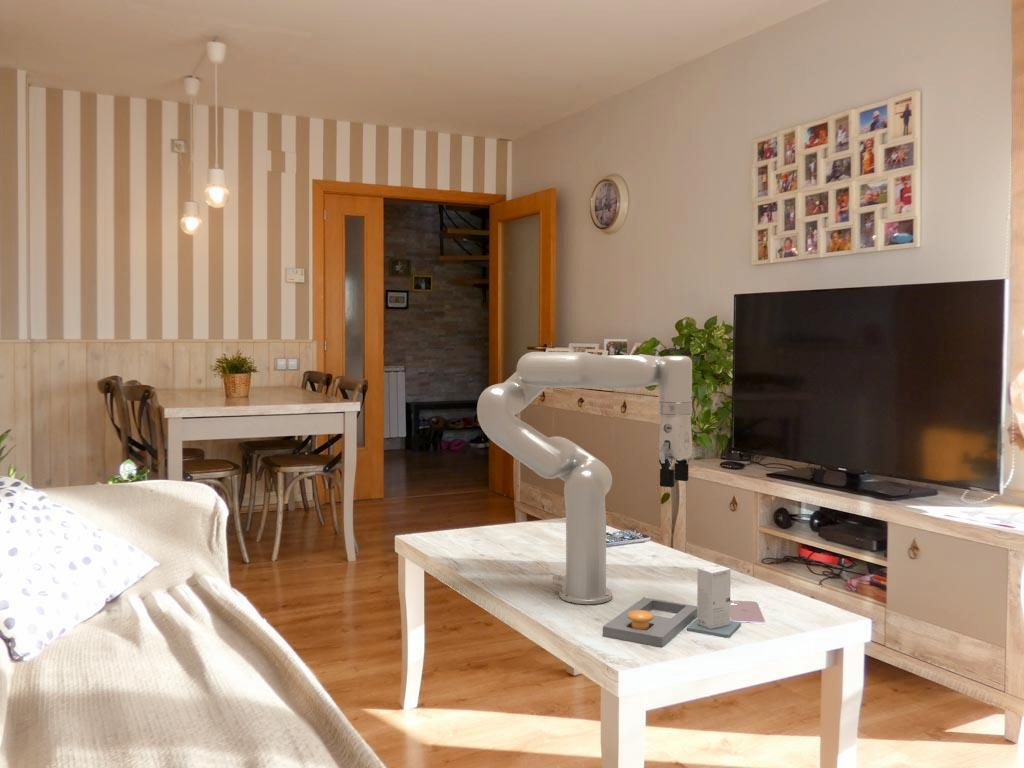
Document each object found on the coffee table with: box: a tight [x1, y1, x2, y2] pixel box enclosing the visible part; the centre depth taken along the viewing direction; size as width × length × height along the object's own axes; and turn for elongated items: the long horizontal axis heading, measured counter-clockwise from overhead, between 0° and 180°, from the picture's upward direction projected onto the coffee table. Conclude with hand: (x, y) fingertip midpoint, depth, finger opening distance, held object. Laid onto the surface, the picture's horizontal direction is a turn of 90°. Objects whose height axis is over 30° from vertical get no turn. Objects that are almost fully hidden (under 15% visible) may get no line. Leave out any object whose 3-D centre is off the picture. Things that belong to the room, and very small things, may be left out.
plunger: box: [628, 610, 654, 631], centre depth 177 cm, size 5×5×4 cm
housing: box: [602, 597, 697, 648], centre depth 183 cm, size 13×23×2 cm, turn 150°
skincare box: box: [696, 565, 731, 629], centre depth 182 cm, size 6×4×12 cm
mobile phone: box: [730, 599, 766, 624], centre depth 192 cm, size 8×1×15 cm
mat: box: [686, 618, 742, 639], centre depth 182 cm, size 9×9×1 cm
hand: (674, 483), depth 196 cm, fingers open, 9 cm apart
